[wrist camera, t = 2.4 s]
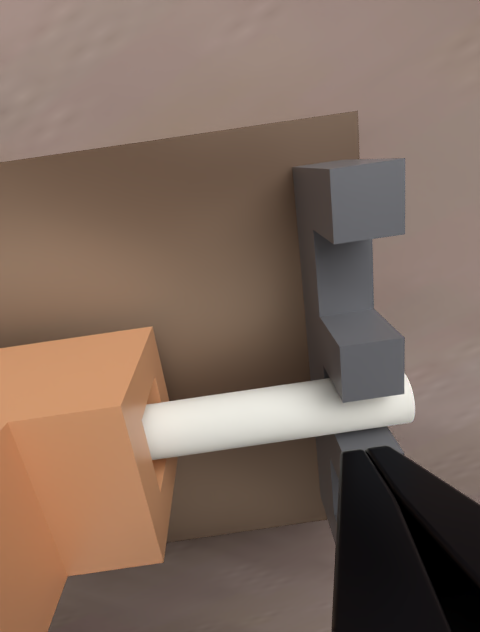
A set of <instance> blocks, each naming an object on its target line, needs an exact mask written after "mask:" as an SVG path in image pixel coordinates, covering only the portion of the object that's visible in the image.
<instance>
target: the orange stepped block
mask: <svg viewBox="0 0 480 632" xmlns="http://www.w3.org/2000/svg"><path fill="white" fill-rule="evenodd" d="M168 401H169V397H168V393H167V388H166V384H165V379H164V375H163V371H162V366H161V362H160V357H159V353H158V348H157V344H156V340H155V335H154V331H153V326H151V327H144V328H137V329H130V330H123V331H116V332H109V333H103V334H96V335H89V336H82V337H75V338H68V339H61V340H54V341H47V342H40V343H33V344H27V345H20V346H13V347H6V348H0V632H48V629H49V627H50V624H51V621H52V618H53V615H54V613H55V610H56V607H57V604H58V602H59V599H60V596H61V593H62V591H63V588H64V585H65V582H66V580H67V577H68V576H74V575H81V574H88V573H95V572H102V571H109V570H116V569H123V568H130V567H136V566H143V565H150V564H157V563H164V556H165V549H166V541H167V534H168V526H169V519H170V512H171V504H172V497H173V490H174V482H175V475H176V467H177V460H178V457H171V458H164V459H157V460H152V458H151V454H150V451H149V447H148V443H147V439H146V435H145V431H144V427H143V423H142V417H143V414H144V411H145V407H146V405H147V404H154V403H161V402H168Z"/></svg>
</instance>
